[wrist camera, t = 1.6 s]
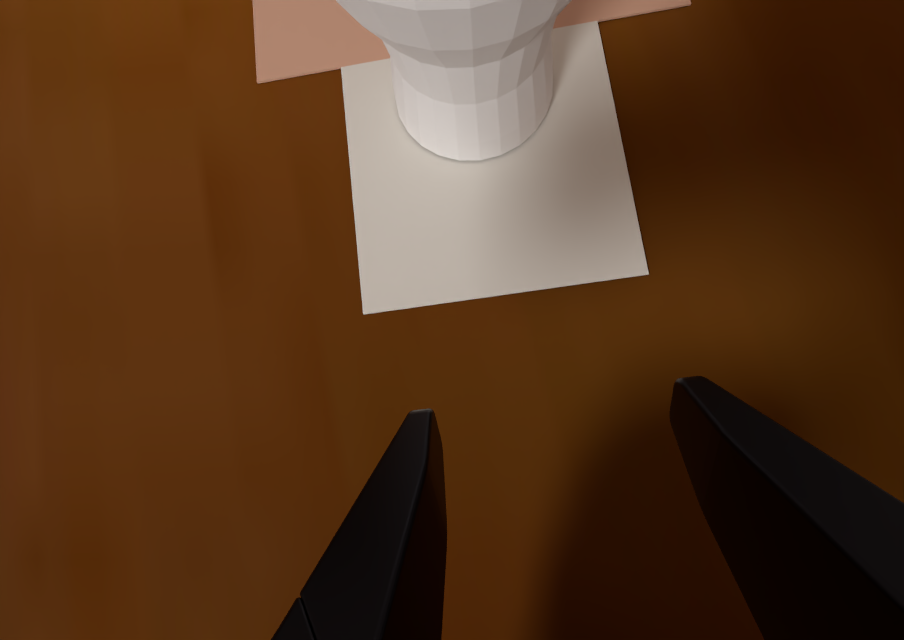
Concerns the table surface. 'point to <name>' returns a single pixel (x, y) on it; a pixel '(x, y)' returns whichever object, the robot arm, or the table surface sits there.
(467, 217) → the t mat
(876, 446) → the table surface
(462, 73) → the white vase
